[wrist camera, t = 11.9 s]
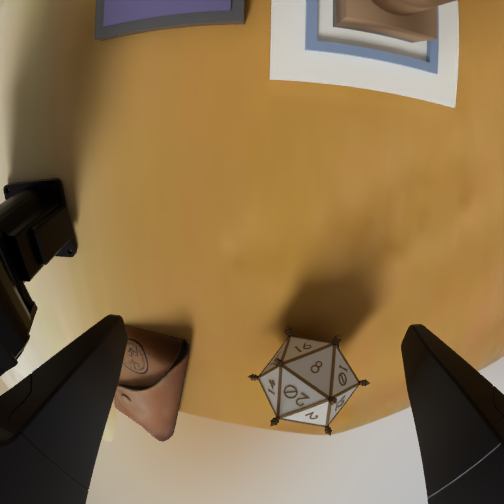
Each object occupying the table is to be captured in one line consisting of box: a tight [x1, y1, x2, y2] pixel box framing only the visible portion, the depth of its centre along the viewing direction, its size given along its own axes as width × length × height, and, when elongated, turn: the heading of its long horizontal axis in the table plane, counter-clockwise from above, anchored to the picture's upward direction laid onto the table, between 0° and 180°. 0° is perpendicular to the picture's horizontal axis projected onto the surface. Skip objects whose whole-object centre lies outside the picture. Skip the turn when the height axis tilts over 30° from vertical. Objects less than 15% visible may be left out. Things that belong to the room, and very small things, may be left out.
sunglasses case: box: [114, 325, 189, 441], centre depth 30 cm, size 18×7×7 cm
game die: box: [248, 327, 370, 435], centre depth 23 cm, size 9×8×10 cm
